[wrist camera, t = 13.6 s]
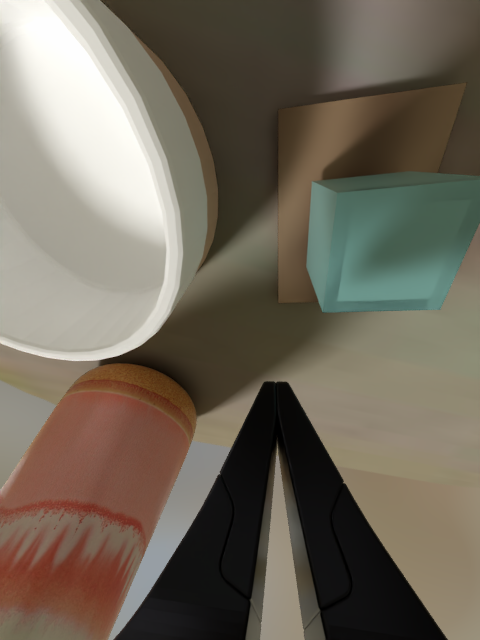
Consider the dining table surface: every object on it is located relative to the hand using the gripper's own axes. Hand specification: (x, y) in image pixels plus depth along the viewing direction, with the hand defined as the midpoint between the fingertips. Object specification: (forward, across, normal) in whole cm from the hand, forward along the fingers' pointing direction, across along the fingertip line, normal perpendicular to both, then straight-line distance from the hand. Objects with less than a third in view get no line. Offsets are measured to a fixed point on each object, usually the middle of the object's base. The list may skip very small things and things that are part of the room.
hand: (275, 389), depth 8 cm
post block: (+12, -5, -3) cm, 13 cm away
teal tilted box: (+10, -5, -3) cm, 12 cm away
